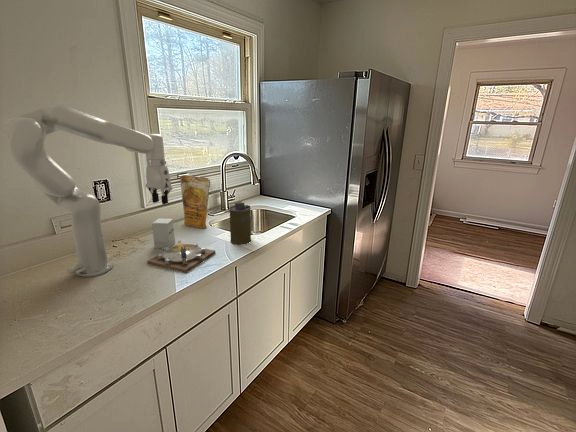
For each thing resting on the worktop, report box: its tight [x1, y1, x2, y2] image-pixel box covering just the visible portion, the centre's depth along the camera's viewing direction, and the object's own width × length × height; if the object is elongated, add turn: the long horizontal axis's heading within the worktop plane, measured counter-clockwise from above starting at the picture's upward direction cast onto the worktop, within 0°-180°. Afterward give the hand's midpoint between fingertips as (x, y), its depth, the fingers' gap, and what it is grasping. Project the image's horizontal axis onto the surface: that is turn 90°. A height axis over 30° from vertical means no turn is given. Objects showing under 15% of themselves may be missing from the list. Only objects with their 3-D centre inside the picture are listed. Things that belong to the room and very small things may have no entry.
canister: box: [228, 201, 252, 246], centre depth 151 cm, size 11×10×20 cm
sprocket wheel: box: [157, 242, 206, 264], centre depth 132 cm, size 19×19×6 cm
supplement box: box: [151, 218, 176, 250], centre depth 144 cm, size 7×7×13 cm
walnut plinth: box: [146, 240, 217, 274], centre depth 133 cm, size 20×20×4 cm
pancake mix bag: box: [179, 174, 211, 229], centre depth 170 cm, size 7×19×28 cm, turn 64°
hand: (160, 202), depth 140 cm, fingers open, 4 cm apart
